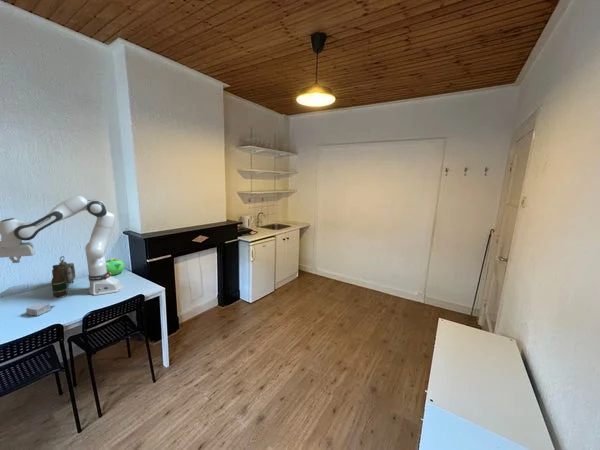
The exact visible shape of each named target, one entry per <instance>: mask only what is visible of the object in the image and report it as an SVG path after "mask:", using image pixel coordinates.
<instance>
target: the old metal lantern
mask: <svg viewBox="0 0 600 450" xmlns="http://www.w3.org/2000/svg"><path fill="white" fill-rule="evenodd" d="M62 258H63V259H62ZM58 265H59V269H60V273H61V275H62V276H64V278H65V281H66V287H67V289H69V286H68V284H71V283H73V284H74V283H75V281H74V280H75V278H76V268H75V265H74V263H73V262H69V263H68V262H67V261H65V256H64V255H63V256H60V257H59V263H58ZM51 271H52V272H51V274H52V278H53V277H54V272H53V269H52V270H51Z"/></svg>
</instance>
